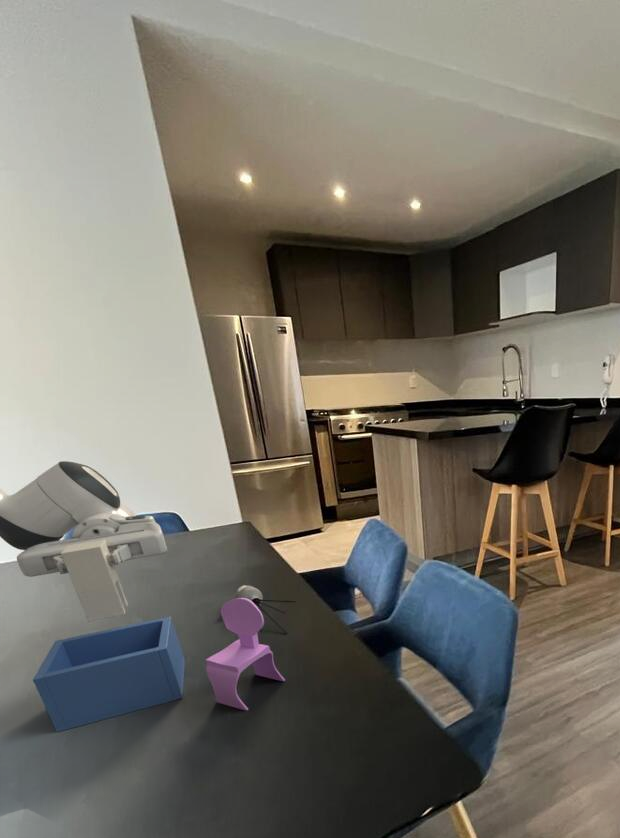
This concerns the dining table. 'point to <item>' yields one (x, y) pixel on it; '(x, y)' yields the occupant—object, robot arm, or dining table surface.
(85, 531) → the robot arm
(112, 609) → the cream rectangular block
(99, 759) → the dining table surface
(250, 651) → the toy chair
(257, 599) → the reed diffuser
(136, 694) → the box
